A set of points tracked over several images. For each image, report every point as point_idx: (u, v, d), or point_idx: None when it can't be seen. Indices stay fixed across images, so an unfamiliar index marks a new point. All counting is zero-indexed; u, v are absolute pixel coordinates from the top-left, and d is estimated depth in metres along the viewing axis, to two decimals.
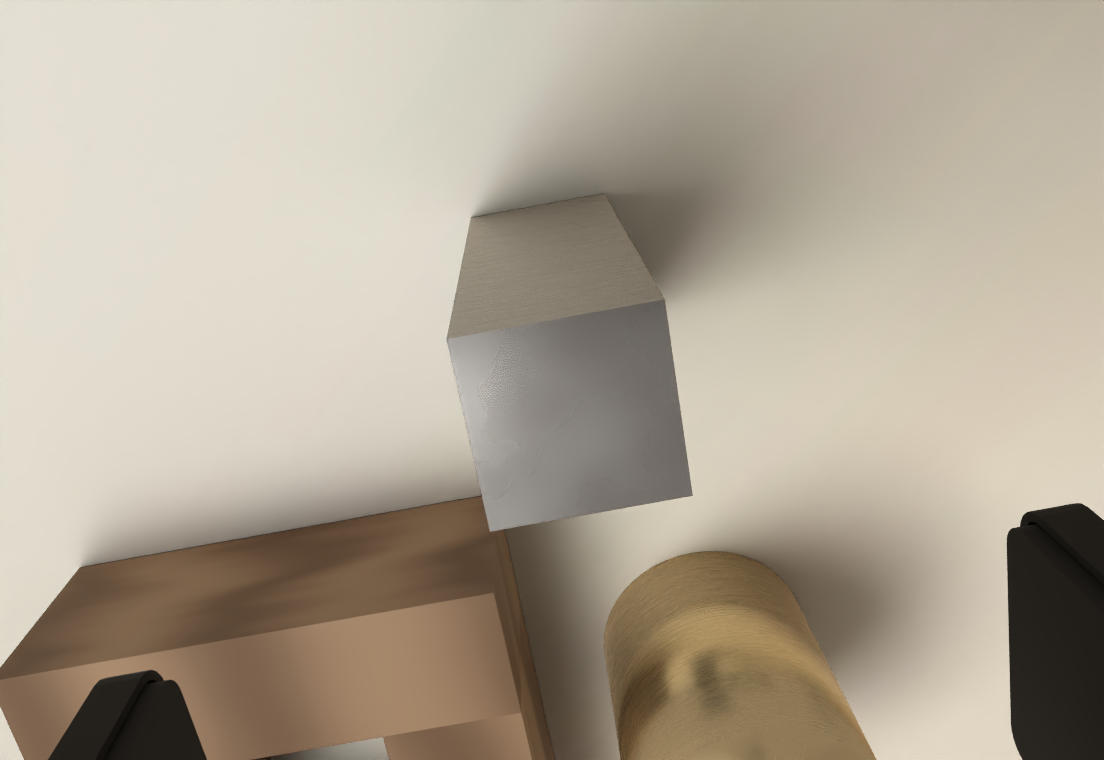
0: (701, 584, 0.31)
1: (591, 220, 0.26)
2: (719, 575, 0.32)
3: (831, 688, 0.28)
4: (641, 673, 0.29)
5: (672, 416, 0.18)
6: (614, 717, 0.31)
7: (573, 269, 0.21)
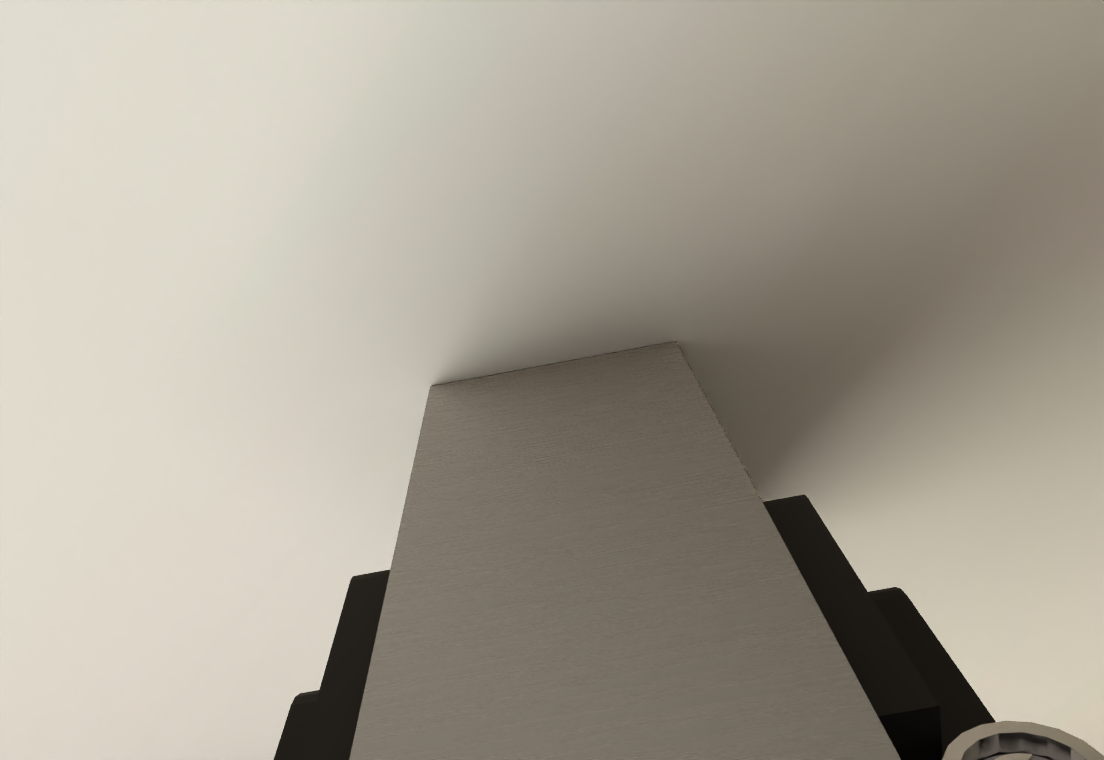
0: None
1: (670, 440, 0.12)
2: None
3: None
4: None
5: None
6: None
7: (668, 703, 0.08)
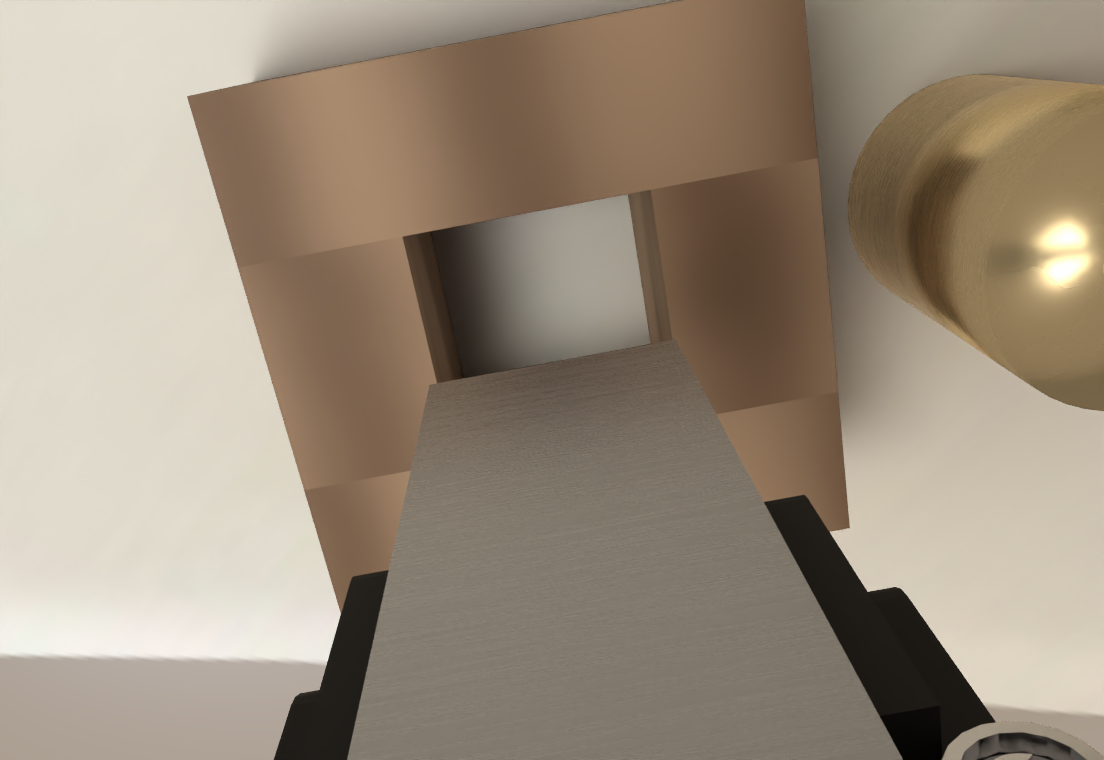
0: (988, 79, 0.27)
1: (670, 438, 0.12)
2: None
3: None
4: (943, 143, 0.25)
5: None
6: (889, 236, 0.27)
7: (668, 701, 0.08)
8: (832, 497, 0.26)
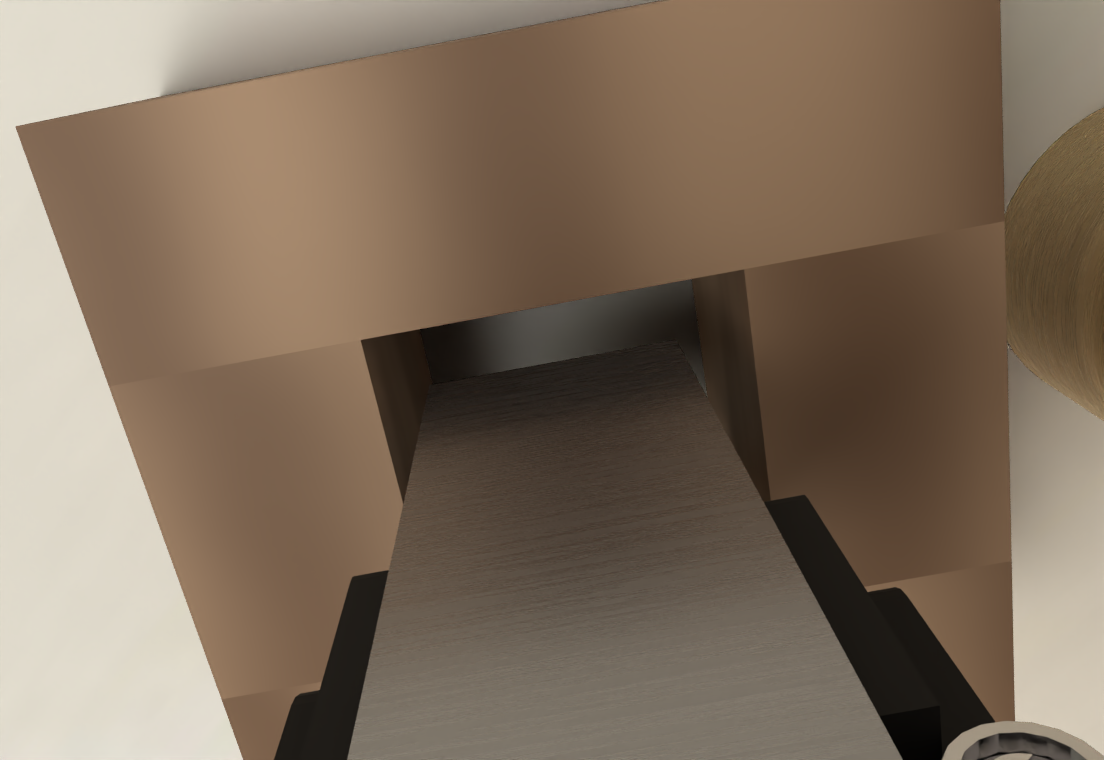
0: None
1: (670, 438, 0.12)
2: None
3: None
4: None
5: None
6: (1074, 322, 0.18)
7: (668, 702, 0.08)
8: (993, 704, 0.18)
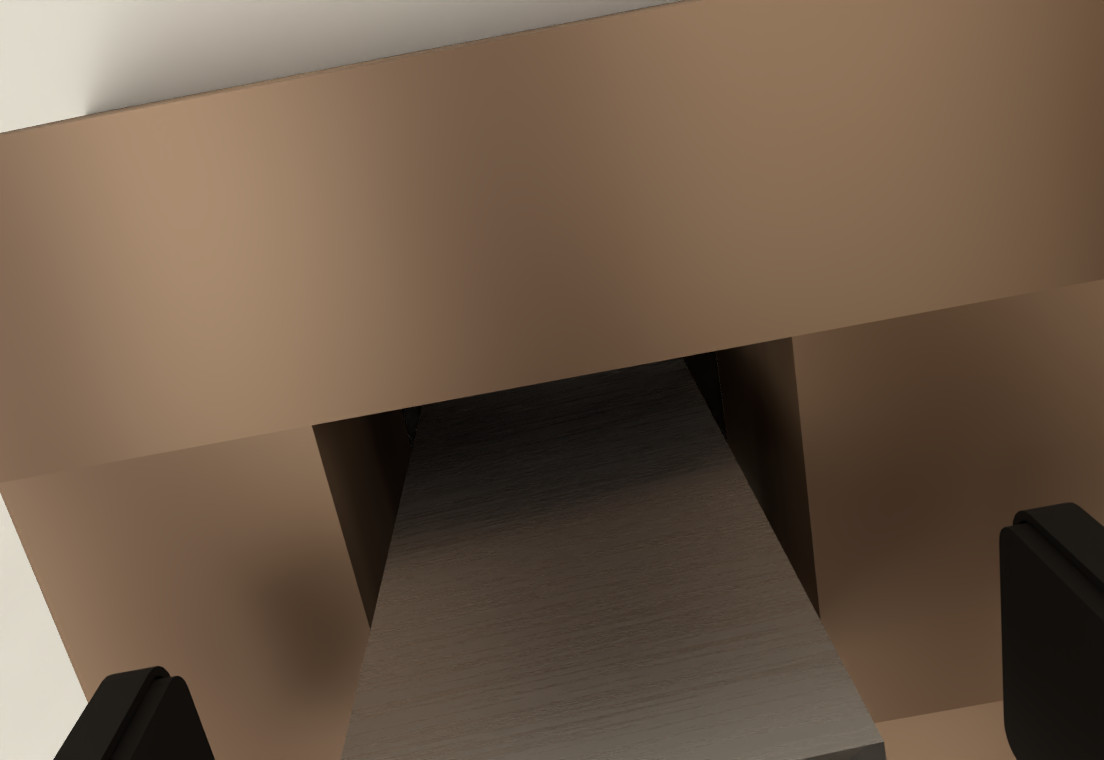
0: None
1: (637, 367, 0.15)
2: None
3: None
4: None
5: None
6: None
7: (621, 539, 0.10)
8: None
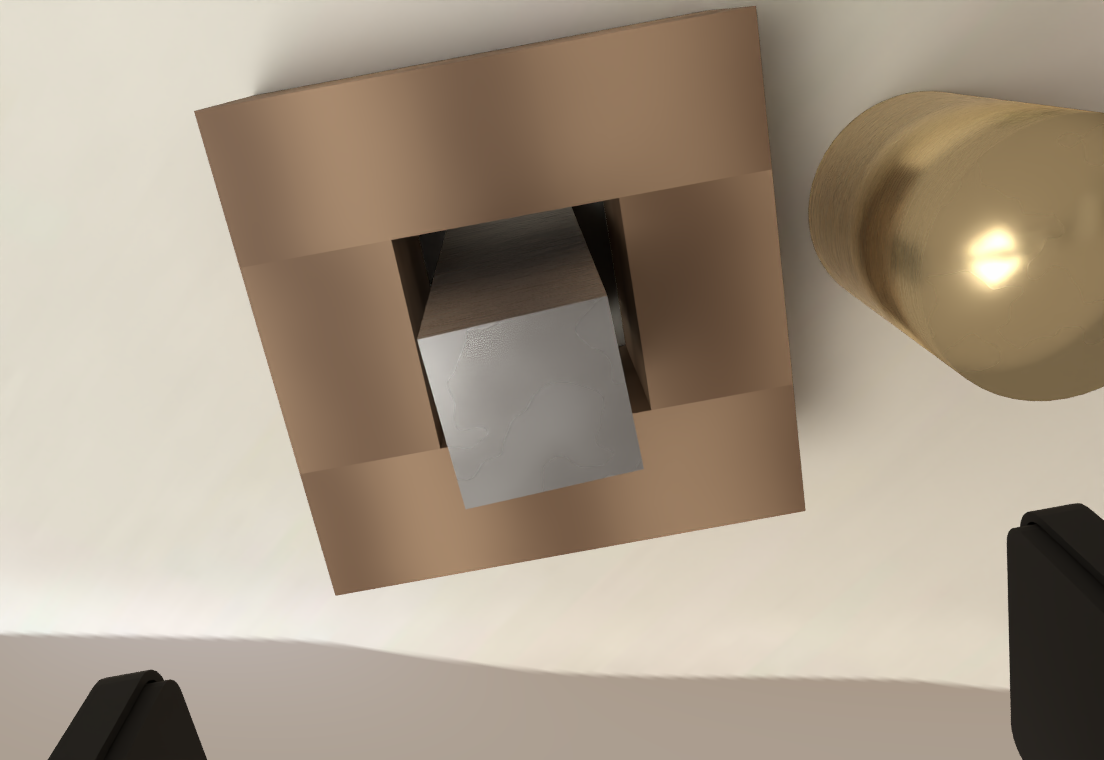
0: (933, 97, 0.29)
1: (554, 226, 0.28)
2: (949, 94, 0.29)
3: None
4: (889, 156, 0.27)
5: (621, 399, 0.21)
6: (842, 241, 0.29)
7: (532, 272, 0.23)
8: (789, 482, 0.28)
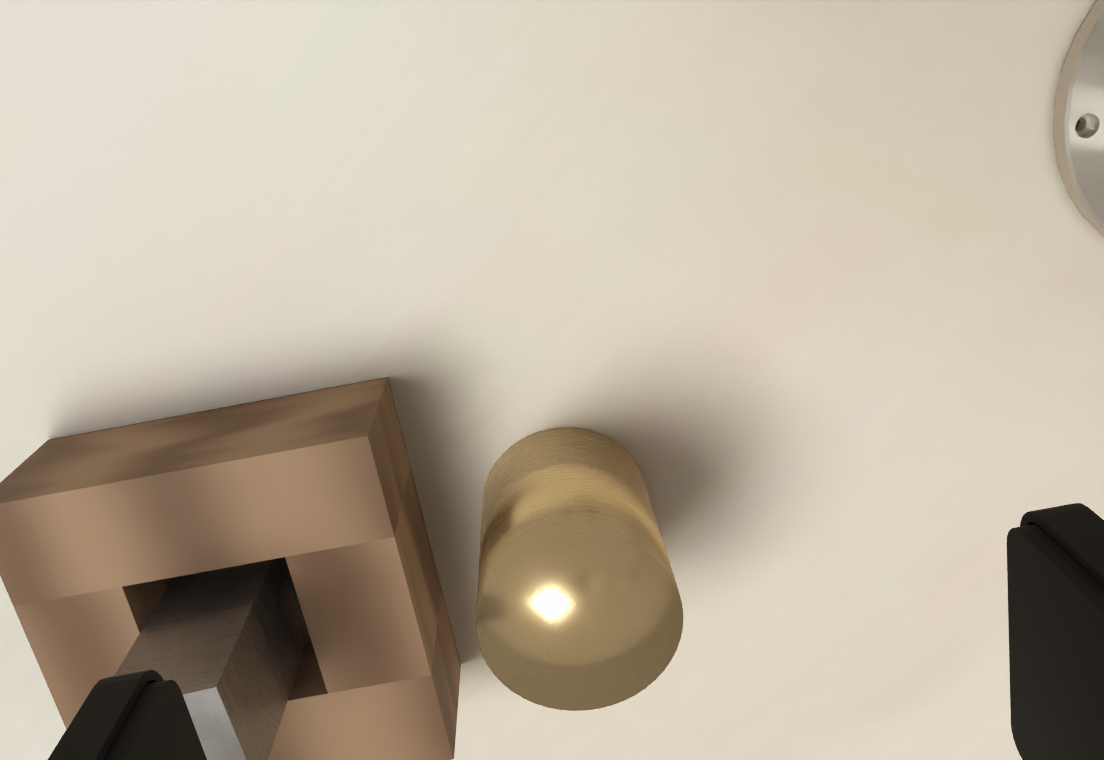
0: (550, 448, 0.39)
1: None
2: (566, 442, 0.39)
3: (639, 515, 0.35)
4: (495, 513, 0.37)
5: (236, 747, 0.31)
6: None
7: (203, 631, 0.33)
8: (438, 740, 0.38)
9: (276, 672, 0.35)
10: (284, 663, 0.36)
